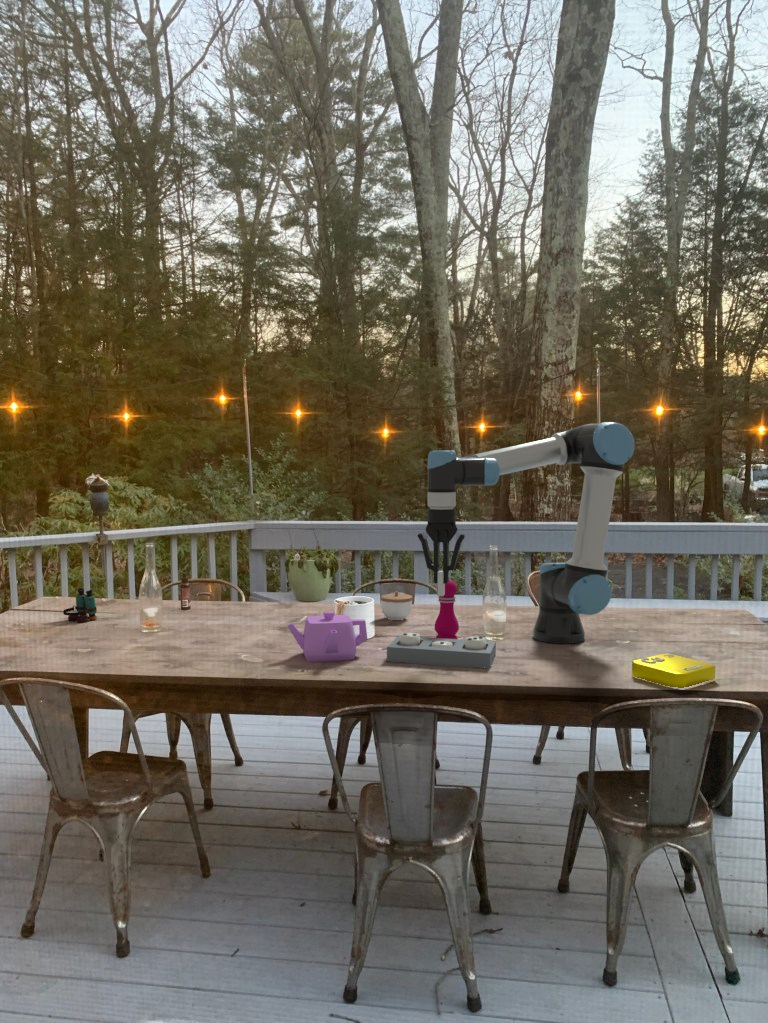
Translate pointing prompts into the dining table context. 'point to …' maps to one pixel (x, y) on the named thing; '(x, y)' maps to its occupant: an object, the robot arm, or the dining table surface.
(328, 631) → the teakettle
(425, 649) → the console
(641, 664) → the element tile
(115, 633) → the dining table surface
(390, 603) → the lidded jar
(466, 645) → the button three dots
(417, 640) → the button two dots
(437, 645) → the button one dot
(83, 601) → the binoculars
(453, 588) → the pepper mill
